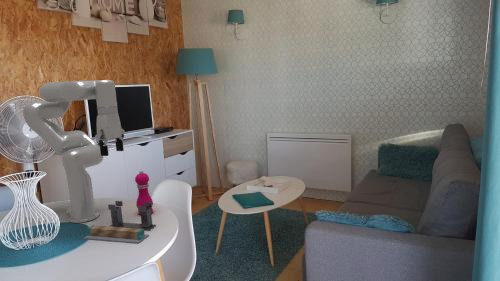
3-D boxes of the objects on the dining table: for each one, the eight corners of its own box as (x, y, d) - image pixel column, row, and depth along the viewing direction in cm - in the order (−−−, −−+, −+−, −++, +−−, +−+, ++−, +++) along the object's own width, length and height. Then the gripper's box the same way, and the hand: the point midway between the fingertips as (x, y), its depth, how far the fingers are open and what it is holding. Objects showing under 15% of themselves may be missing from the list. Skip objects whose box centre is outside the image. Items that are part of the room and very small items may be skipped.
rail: (88, 235, 149) (87, 228, 148) (93, 232, 151) (92, 225, 151) (140, 239, 141) (139, 232, 141) (144, 236, 144) (144, 229, 144)
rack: (108, 228, 157) (105, 204, 155) (116, 223, 162) (114, 200, 160) (149, 231, 151) (146, 206, 149) (156, 226, 156) (153, 202, 154)
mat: (84, 239, 147) (83, 237, 147) (96, 232, 153) (96, 230, 153) (138, 243, 139) (138, 242, 139) (148, 236, 146) (148, 234, 146)
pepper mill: (156, 210, 176) (151, 167, 173) (150, 215, 169) (146, 171, 165) (141, 210, 176) (136, 168, 173) (134, 216, 169) (130, 172, 166)
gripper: (113, 109, 162) (118, 149, 165) (84, 113, 146) (90, 157, 149) (128, 109, 160) (133, 149, 163) (101, 113, 144) (106, 157, 146)
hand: (112, 153), depth 156 cm, fingers open, 9 cm apart
